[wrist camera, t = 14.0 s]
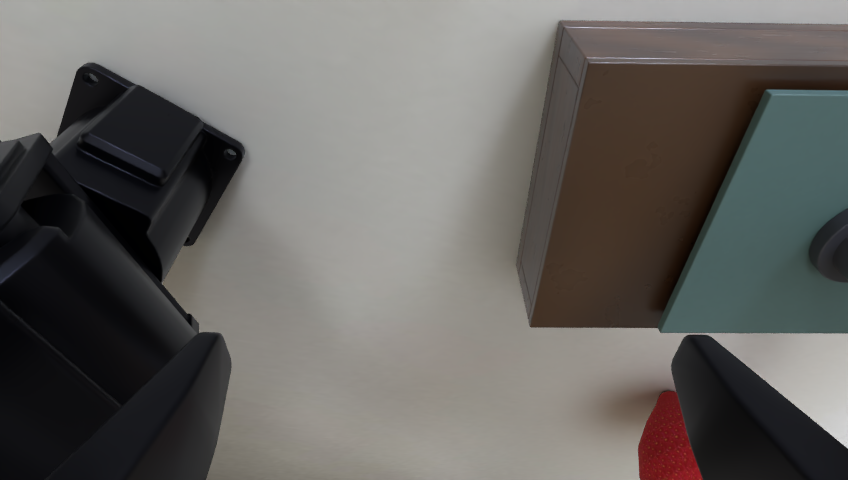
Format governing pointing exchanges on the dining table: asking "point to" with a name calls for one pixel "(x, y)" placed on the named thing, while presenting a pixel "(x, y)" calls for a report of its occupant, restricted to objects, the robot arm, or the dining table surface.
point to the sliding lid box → (646, 154)
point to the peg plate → (775, 227)
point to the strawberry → (666, 444)
